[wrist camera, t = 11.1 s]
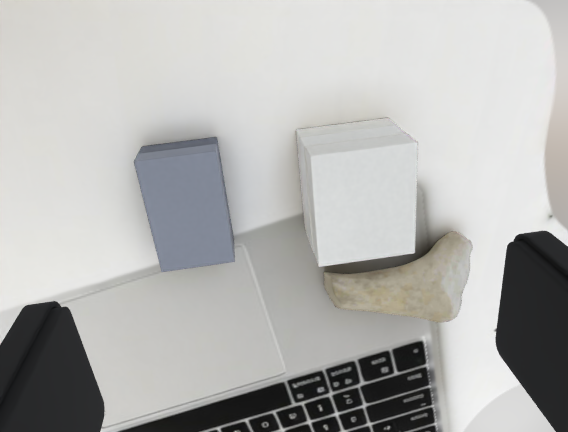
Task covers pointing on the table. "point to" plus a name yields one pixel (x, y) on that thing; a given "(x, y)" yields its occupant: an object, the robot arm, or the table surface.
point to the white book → (363, 198)
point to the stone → (409, 284)
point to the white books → (335, 136)
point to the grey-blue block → (186, 203)
